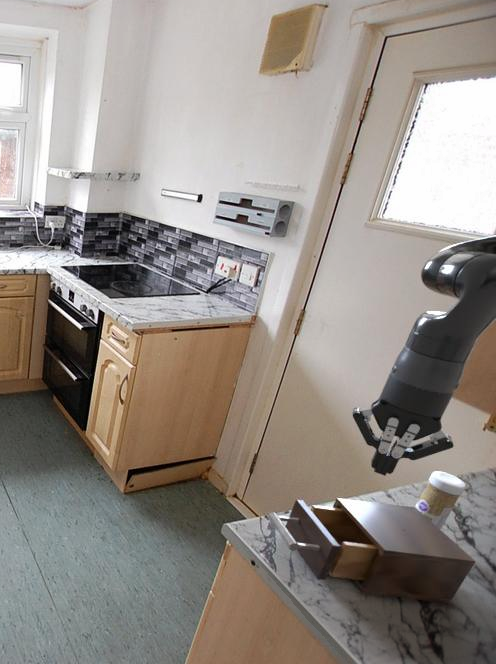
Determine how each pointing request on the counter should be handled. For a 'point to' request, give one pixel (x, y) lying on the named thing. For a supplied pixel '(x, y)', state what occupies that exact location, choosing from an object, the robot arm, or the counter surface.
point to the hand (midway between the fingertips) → (379, 471)
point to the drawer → (327, 541)
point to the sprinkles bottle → (440, 497)
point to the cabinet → (408, 553)
